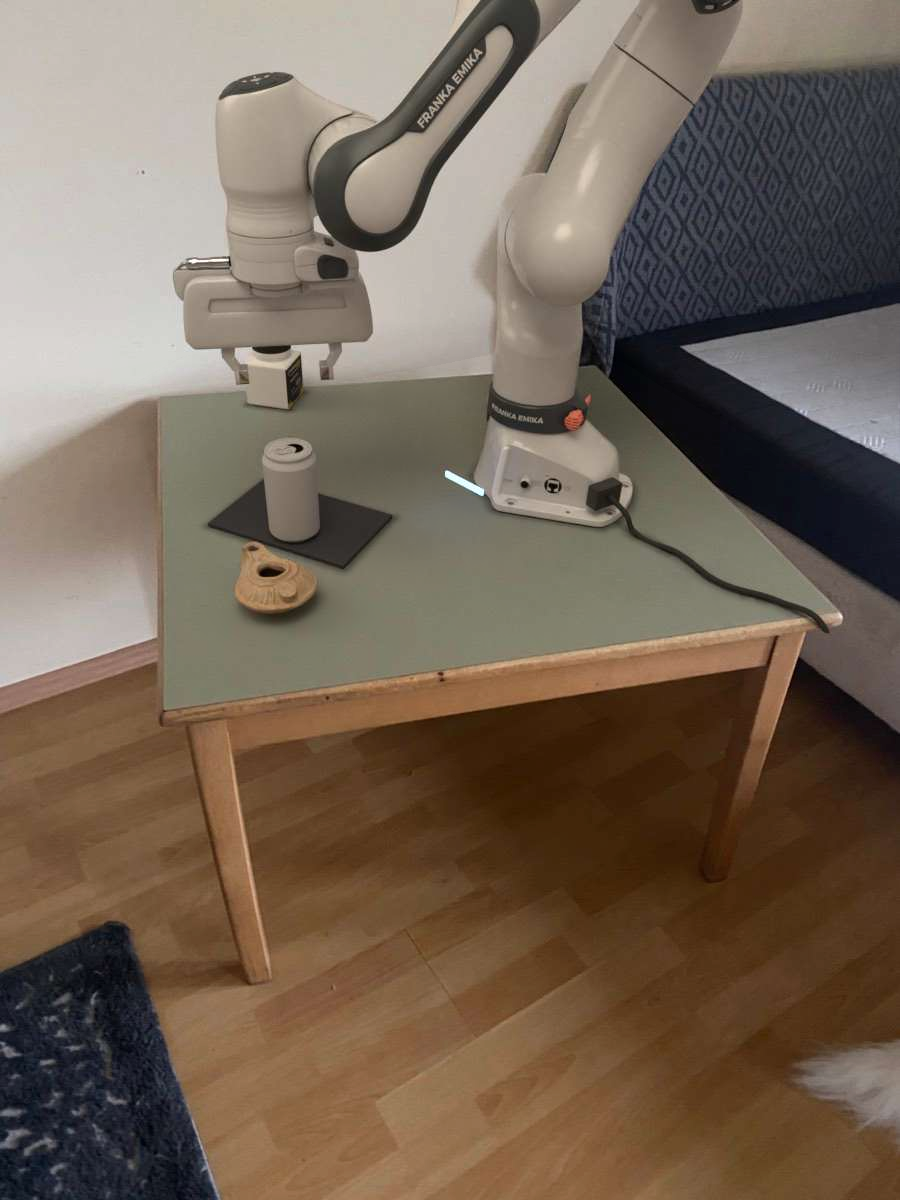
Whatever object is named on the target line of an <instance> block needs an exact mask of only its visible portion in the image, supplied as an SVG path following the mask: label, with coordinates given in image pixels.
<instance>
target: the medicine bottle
mask: <svg viewBox="0 0 900 1200" xmlns="http://www.w3.org/2000/svg"><path fill="white" fill-rule="evenodd" d="M251 352H252V354H251V355H250V356H249V357H248V358H247V359H246V360H245V361H244V362H243V363H242V364H247V365H248V373H249V384H244V385H245V392H246V403H247V404H248V405H251V406H258V407H265V408H272V409H279V410H290V409H291V408H292V407H293V405H294V404H295V403H296V401H297V400H299V398H300V396H301V395H302V394H303V393H304V379H303V378H304V377H303V366H302V365H303V363H302V352H301V351H300V350H294V349H292V345H287V346H265V347H251Z"/></svg>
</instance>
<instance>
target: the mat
mask: <svg viewBox="0 0 900 1200" xmlns="http://www.w3.org/2000/svg"><path fill="white" fill-rule="evenodd" d="M318 502H319V518H320V529H319V531H318V532H317V533H316V534H315V535H314V536H313V537H311V538H310V539H308V540H305V541H302V542H297V543H289V542H284V541H281V540H279V539H278V538H276V537H274V536H273V535H272V534H271V532H270V530H269V522H268V512H267V503H266V494H265V484H264V478H263V479H261V480H260V481H258V483H256V484H255V485H254V486H253V487H251V488H250V489H249V490H248V491H246V492H245V493H244V494H242V495H241V496H240V497H239V498H237V499H236V500H235V501H234V502H233V503H231V504H230V505H229V506H228V507H226V508H225V509H223V510H222V511H221V512H219V513H218V514H217V515H216V516H214V518H212V519H211V520H210V521H209V522H207V526H208V527H209V528H211V529H212V528H213V529H216V530H219V531H222V532H225V533H229V534H232V535H235V536H238V537H241V538H244V539H247V540H249V541H252V542H258V543H261V544H262V545H266V546H269V547H272V548H276V549H278V550H282V551H285V552H289V553H290V554H291V553H292V554H294V555H298V556H301V557H303V558H307V559H311V560H313V561H316V562H320V563H323V564H326V565H330V566H332V567H336V568H339V569H342V570H344V569H346V567H347V566H349V564H350V563H351V562H352V561H353V560H354V559H355V558H356V557H357V555H359V554H360V553H361V551H362V550H363V549H365V547H366V546H367V545H368V544H369V543H370V542H371V541H372V540H373V539H374V538H375V537H376V536H377V535H378V534H379V533H380V531H381V530H383V528H384V527H385V526H386V525H387V524H388V523H389V522H390V521H391V520H392V519H393V514H391V513H388V512H384V511H380V510H377V509H374V508H370V507H367V506H363V505H361V504H356V503H353V502H350V501H346V500H344V499H339V498H336V497H333V496H329V495H325V494H322V493H319V492H318Z"/></svg>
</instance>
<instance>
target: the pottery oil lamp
mask: <svg viewBox="0 0 900 1200" xmlns="http://www.w3.org/2000/svg"><path fill="white" fill-rule="evenodd" d="M239 563H240V569H239V570H240V571H239V576H238V579H237V581H236V583H235V585H234V598H235V600H237V602H238V603H239V604H240V605H241V606H243V607H245V608H246V609H248V610H251V611H254V612H256V613H261V614H262V613H263V614H280V613H285V612H288V611H291V610H293V609H294V610H295V609H296V608H299V607H300V606H302V605H304V604H305V603H307V602H308V601H309V600H310V599H311V598H312V597H314V595H315V594H316V592H317V588H318V582H319V581H318V579H317V576H316V575H315V573H312V572H311V571H310V570H309V569H307V568H306V567H304V566H303V565H302V564H300V563H298V562H295V561H293V560H290V559H288V558H284V557H280V556H277V555H275V554H274V553H272V552H271V551H269V549H268V548H266V546H265V544H263V543H260V542H257V541H249V542H246V543H245V544H244V545H243V546H242V549H241V554H240V559H239Z"/></svg>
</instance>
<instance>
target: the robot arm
mask: <svg viewBox="0 0 900 1200" xmlns="http://www.w3.org/2000/svg"><path fill="white" fill-rule="evenodd" d="M581 1H582V0H456V6H455V13H454V17H453V21H452V24H451V26H450V28H449V31H448V33H447V35H446V36H445V39H444V40H443V42H442V44H441V45H440V47H439V48H438V49H437V51H436V52H435V53H434V55H433V56H432V57H431V59H430V60H429V61H428V63H427V64H426V65H425V66H424V68H423V69H422V70H421V71H420V73H418V75H417V77H416V78H415V79H414V80H413V82H412V83H411V84H410V86H409V87H408V88H407V90H406V91H405V92H404V93H403V95H402V96H401V97H400V98H399V100H398V101H397V102H396V103H395V105H394V106H393V107H392V109H390V111H389V112H388V113H387V114H386V115H385V116H383V118H381V119H380V120H377V119H376V118H375V117H373V116H371V115H370V114H368V113H366V112H362V111H359V110H356V109H352V108H350V107H346V106H343V105H341V104H338V103H336V102H333V101H332V100H329V99H327V98H325V97H323V96H321V95H320V94H318V93H316V92H315V91H313V90H311V89H310V88H308V87H307V86H305V85H304V84H303V83H302V82H300V81H299V79H297V78H296V77H295V76H294V75H293V74H291V73H287V72H283V71H273V72H270V71H269V72H268V71H267V72H261V73H255V74H250V75H247V76H244V77H240V78H238V79H236V80H233V81H232V82H230V83H229V84H228V85H226V86H225V88H224V89H223V90H222V91H221V93H220V94H219V96H218V98H217V101H216V106H215V117H214V121H215V122H214V123H215V124H214V126H215V127H214V129H215V146H216V157H217V158H216V159H217V168H218V174H219V175H218V177H219V181H220V185H221V187H222V189H223V193H224V195H225V199H226V215H225V231H226V238H227V247H228V253H229V254H228V255H227V256H224V255H223V256H209V257H203V258H202V257H194V256H193V257H187V258H185V259H184V261H183V262H180V263H178V264H177V265H176V266H175V267H174V269H173V272H172V281H173V287H174V291H175V295H176V296H177V297H178V298H179V299H180V300H181V301H182V302H183V303H182V308H183V309H182V310H183V311H182V312H183V313H182V314H183V315H182V317H183V319H182V321H183V328H184V329H183V332H184V339H185V342H186V343H187V345H189V346H190V347H191V348H192V349H193V350H197V351H199V350H218V349H219V350H220V354H221V358H222V360H223V361H224V362H225V363H226V364H227V366H228V367H229V368H230V369H231V371H232V372H233V373H234V379H235V385H236V386H242V385H245V384H249V373H248V365H247V364H243V363H240V362H239V360H238V359H237V357H236V349H239V348H240V349H241V348H252V347H265V346H287V345H291V346H303V345H307V346H308V345H325V344H326V345H327V344H328V350H329V353H328V354H327V357H326V358H325V359H321V360H318V365H319V367H318V368H319V377H320V381H332V380H335V378H334V377H335V376H334V367H335V365H336V363H337V362H338V360H339V358H340V357H341V355H342V353H343V346H342V344H347V343H348V344H349V343H366V342H367V341H368V340H369V339H370V338H371V337H372V335H373V334H374V325H373V324H374V322H373V316H372V315H373V313H372V307H371V302H370V298H369V293H368V289H367V287H366V284H365V281H364V278H363V275H362V273H360V271H359V270H360V261H359V256H358V253H357V252H363V253H376V252H381V251H382V252H383V251H386V250H389V249H391V248H393V247H395V246H397V245H398V244H400V243H401V242H403V241H404V240H405V239H406V238H408V237H409V235H410V234H412V233H413V231H414V229H415V228H416V226H417V224H419V221H420V219H421V217H422V215H423V213H424V210H425V207H426V205H427V202H428V199H429V196H430V193H431V192H432V191H431V190H432V188H433V185H434V183H435V181H436V179H437V178H438V175H439V174H440V172H441V170H442V169H443V167H444V166H445V164H446V163H447V162H448V160H449V159H450V158H451V157H452V155H453V154H454V152H455V151H456V150H457V149H458V147H459V146H460V145H461V144H462V142H463V141H464V140H465V139H466V138H467V136H468V135H469V134H470V132H472V130H473V129H474V128H475V126H476V125H477V124H478V122H480V120H481V119H482V118H483V116H484V115H485V114H486V112H488V110H489V109H490V107H491V106H492V105H493V104H494V102H495V101H496V100H497V98H499V96H500V95H501V93H502V92H503V91H504V90H505V88H506V87H507V86H508V85H509V83H510V82H511V81H512V79H513V78H514V76H515V75H516V73H517V72H518V70H519V69H520V68H521V67H522V65H524V64H525V62H526V61H527V60H528V59H529V58H530V57H531V56H532V54H533V53H534V52H535V50H537V48H538V47H539V46H540V45H541V44H542V43H543V42H544V41H545V40H546V38H547V37H548V36H550V34H551V33H552V32H553V31H554V30H555V29H556V28H557V27H558V26H559V25H560V23H562V22H563V20H564V19H565V18H566V17H567V16H568V15H569V14H570V13H571V12H572V11H573V10H574V8H576V6H577V5H579V3H580V2H581ZM743 9H744V0H639V2H638V4H637V6H636V7H635V8H634V10H633V11H632V12H631V13H630V15H629V16H628V18H627V20H626V21H625V23H624V24H623V26H621V28H620V30H619V32H618V33H617V35H616V37H615V38H614V39H613V41H612V44H611V45H610V46H609V48H608V50H607V51H606V52H605V55H604V56H603V58H602V60H601V61H600V63H599V65H598V66H597V68H596V70H595V71H594V73H593V74H592V76H591V77H590V80H589V81H588V83H587V85H586V86H585V88H584V90H583V91H582V92H581V94H580V96H579V98H578V99H577V101H576V103H575V104H574V106H573V108H572V110H571V111H570V113H569V115H568V118H567V120H566V125H565V129H564V131H563V134H562V137H561V139H560V142H559V145H558V147H557V149H556V150H555V154H554V156H553V158H552V160H551V163H550V165H549V167H548V169H547V172H535V173H530V174H527V175H524V176H522V177H520V178H519V179H517V180H516V181H515V182H513V184H511V186H510V187H509V188H508V189H507V191H506V192H505V194H504V196H503V198H502V201H501V204H500V208H499V212H498V220H497V221H498V222H497V223H498V226H497V252H496V253H497V254H496V333H495V334H496V335H495V349H494V361H493V374H492V381H490V383H489V386H488V392H487V398H486V422H487V427H486V428H487V429H486V432H485V438H484V443H483V445H482V450H481V454H480V457H479V460H478V463H477V464H476V468H475V469H474V472H473V481H474V483H472V482H470V481H468V480H466V479H464V478H462V477H460V476H458V475H456V474H454V473H452V472H451V471H449V470H445V473H444V474H445V475H444V476H445V478H447V479H449V480H451V481H453V482H455V483H456V484H458V485H461V486H462V487H464V488H466V489H467V490H470V491H472V492H474V493H475V494H478V495H479V496H481V497H482V496H484V495H486V496H487V497H488V498H489V502H490V504H491V506H492V508H493V509H494V510H496V511H498V512H502V513H508V514H515V515H522V516H527V517H532V518H540V519H546V520H551V521H558V522H564V523H569V524H576V525H582V526H590V527H594V528H603V527H607V526H609V525H611V524H613V523H615V522H616V521H617V520H619V519H621V517H622V516H623V518H624V519H625V522H626V525H627V530H628V531H629V532H630V534H631V535H633V537H635V538H636V539H637V540H639V541H642V542H644V543H646V544H648V545H650V546H652V547H654V548H657V549H659V550H662V551H665V552H668V553H671V554H672V555H675V556H676V557H678V558H679V559H681V560H682V561H684V562H685V563H687V564H688V565H689V566H690V567H692V569H694V570H695V571H696V572H697V573H699V574H700V575H701V576H703V577H704V578H705V579H707V580H709V581H710V582H712V583H714V584H715V585H718V586H719V587H721V588H724V589H726V590H730V591H733V592H735V593H738V594H742V595H747V596H751V597H755V598H759V599H762V600H765V601H768V602H771V603H774V604H777V605H779V606H781V607H784V608H787V609H790V610H793V611H797V612H799V613H801V614H804V615H806V616H808V617H809V618H810V619H812V620H813V621H814V622H815V623H816V624H817V625H818V627H819V629H820V630H821V632H823V633H824V634H830V633H831V632H830V629H829V627H828V625H827V624H826V622H825V620H823V619H822V617H821V616H820V615H819V614H817V612H815V611H814V610H811V609H810V608H807V607H805V606H803V605H800V604H798V603H794V602H791V601H788V600H785V599H783V598H780V597H778V596H775V595H772V594H770V593H769V594H768V593H765V592H761V591H758V590H755V589H750V588H746V587H743V586H739V585H736V584H732V583H730V582H727V581H724V580H723V579H720V578H719V577H717V576H716V575H713V574H712V573H711V572H709V571H707V570H706V569H705V568H704V567H702V566H701V565H700V564H699V563H698V562H696V561H695V560H694V559H692V558H691V557H690V556H688V554H686V553H684V552H682V551H681V550H679V549H677V548H676V547H673V546H670V545H667V544H665V543H662V542H659V541H655V540H652V539H650V538H648V537H647V536H645V535H643V534H642V533H640V532H639V531H638V530H637V529H636V528H635V526H634V524H633V520H632V517H631V515H630V513H629V512H628V508H629V506H630V504H631V503H632V499H633V491H634V486H633V483H632V480H631V478H630V477H629V476H627V475H626V474H623V473H621V472H620V466H621V465H620V455H619V451H618V450H617V448H616V445H614V444H613V443H612V442H611V441H610V440H608V439H607V438H606V437H605V435H603V434H602V433H601V432H600V431H599V430H598V429H597V428H596V427H595V426H594V425H593V424H592V423H591V422H590V421H589V420H588V419H587V416H588V410H589V406H590V403H591V396H592V395H591V394H588V395H587V397H586V398H585V399H584V397H583V396H582V395H581V394H580V392H579V391H578V388H577V381H578V374H579V369H580V359H581V353H582V346H583V338H584V325H583V303H584V302H586V301H587V300H589V299H590V298H591V297H593V296H594V295H595V294H596V293H597V292H598V290H599V289H600V288H601V287H602V285H603V283H604V282H605V280H606V277H607V275H608V272H609V268H610V262H611V258H612V255H613V252H614V249H615V246H616V245H617V243H618V241H619V238H620V236H621V234H622V232H623V230H624V227H626V223H627V222H628V219H629V217H630V215H631V213H632V210H633V209H634V206H635V204H636V202H637V199H638V197H639V195H640V193H641V192H642V189H643V187H644V185H645V183H646V181H647V180H648V178H649V176H650V174H651V172H652V170H653V169H654V167H655V166H656V164H657V162H658V161H659V159H660V158H661V156H662V155H663V153H664V152H665V151H666V149H667V147H668V146H669V145H670V143H671V141H672V140H673V138H674V137H675V135H676V134H677V132H678V131H679V129H680V128H681V126H682V125H683V123H684V121H685V120H686V118H687V117H688V115H689V114H690V113H691V111H692V109H693V108H694V106H695V105H696V104H697V102H698V100H699V99H700V97H701V96H702V94H703V93H704V91H705V89H706V88H707V86H708V85H709V83H710V81H711V79H712V78H713V76H714V74H715V73H716V71H717V69H718V68H719V65H720V64H721V62H722V59H724V56H725V54H726V52H727V50H728V48H729V46H730V44H731V42H732V40H733V37H734V35H735V33H736V31H737V29H738V27H739V24H740V22H741V19H742V15H743V11H744V10H743ZM317 216H318V218H319V220H320V223H321V224H322V226H323V228H324V230H326V232H327V233H328V234H326V233H322V232H318V231H316V230H315V224H314V222H315V221H314V219H315V218H316V217H317ZM184 267H185V268H184Z"/></svg>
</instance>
